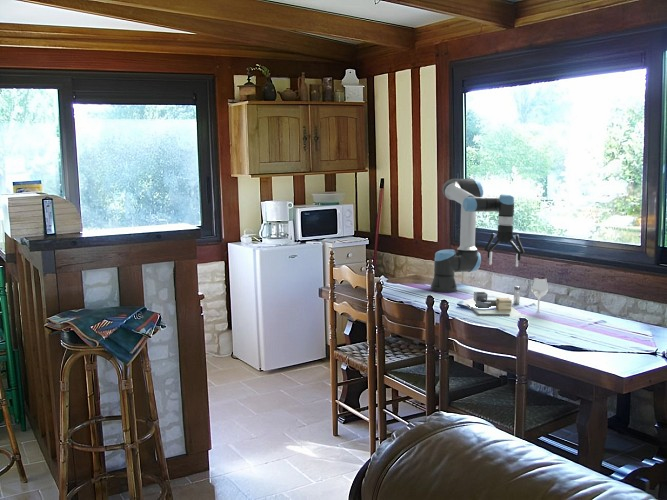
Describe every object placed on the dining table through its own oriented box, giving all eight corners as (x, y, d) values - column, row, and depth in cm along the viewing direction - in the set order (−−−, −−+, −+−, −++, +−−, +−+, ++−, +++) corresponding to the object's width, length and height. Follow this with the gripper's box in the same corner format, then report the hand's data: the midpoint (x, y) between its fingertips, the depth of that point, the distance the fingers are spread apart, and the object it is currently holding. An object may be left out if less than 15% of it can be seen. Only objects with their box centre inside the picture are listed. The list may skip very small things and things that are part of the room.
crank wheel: (471, 302, 368) (471, 291, 367) (504, 303, 368) (505, 292, 368) (477, 308, 354) (477, 297, 353) (512, 309, 355) (512, 297, 354)
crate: (495, 309, 356) (496, 297, 355) (507, 309, 356) (508, 297, 355) (498, 311, 350) (499, 300, 349) (510, 311, 350) (511, 300, 349)
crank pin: (512, 304, 370) (513, 285, 369) (518, 304, 370) (519, 286, 369) (514, 305, 367) (515, 287, 366) (520, 305, 367) (521, 287, 366)
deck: (465, 304, 369) (465, 301, 368) (508, 304, 369) (508, 302, 369) (477, 317, 340) (477, 314, 340) (524, 317, 340) (524, 314, 340)
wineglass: (526, 312, 351) (528, 277, 348) (534, 310, 357) (536, 275, 354) (541, 315, 345) (544, 280, 343) (549, 313, 351) (551, 278, 349)
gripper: (479, 223, 359) (477, 264, 362) (528, 226, 348) (526, 268, 351) (483, 222, 366) (481, 262, 368) (531, 225, 355) (529, 266, 357)
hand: (503, 265), depth 360 cm, fingers open, 13 cm apart
